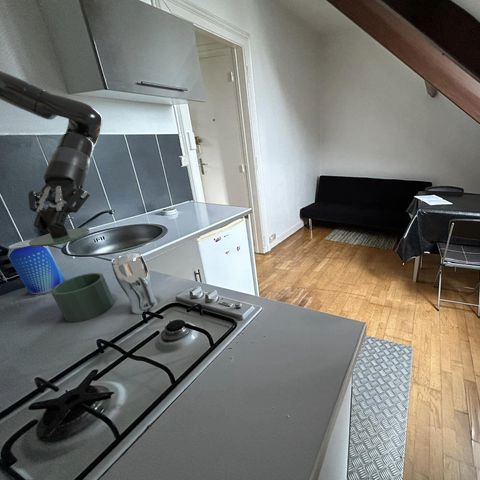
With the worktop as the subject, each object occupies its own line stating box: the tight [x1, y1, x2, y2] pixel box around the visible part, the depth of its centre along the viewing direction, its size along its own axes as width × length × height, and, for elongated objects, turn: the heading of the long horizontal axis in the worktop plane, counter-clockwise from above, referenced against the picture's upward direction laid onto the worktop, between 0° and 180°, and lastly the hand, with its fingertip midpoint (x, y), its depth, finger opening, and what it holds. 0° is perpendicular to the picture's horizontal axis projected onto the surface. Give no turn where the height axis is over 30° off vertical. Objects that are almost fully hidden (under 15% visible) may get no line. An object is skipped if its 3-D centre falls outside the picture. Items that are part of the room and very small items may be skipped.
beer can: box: [7, 238, 66, 297], centre depth 80 cm, size 8×8×16 cm
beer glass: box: [110, 252, 159, 315], centre depth 68 cm, size 7×7×15 cm
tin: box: [50, 272, 115, 323], centre depth 70 cm, size 10×10×8 cm
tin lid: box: [29, 207, 91, 247], centre depth 65 cm, size 11×11×8 cm
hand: (47, 227), depth 63 cm, fingers closed on tin lid, 3 cm apart
